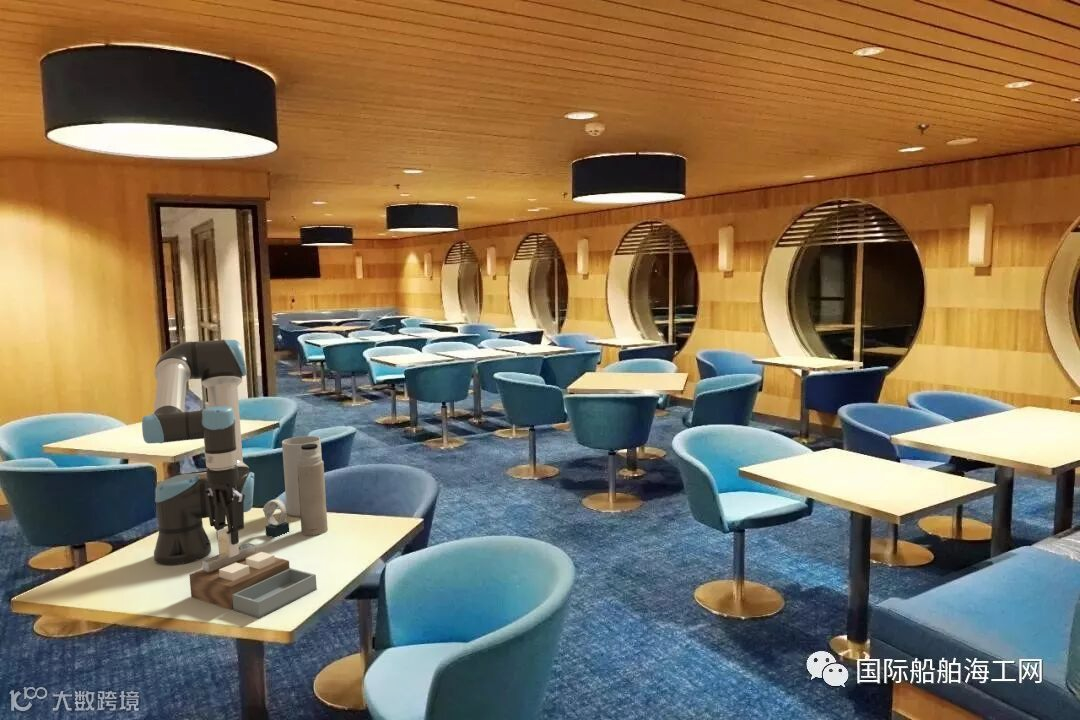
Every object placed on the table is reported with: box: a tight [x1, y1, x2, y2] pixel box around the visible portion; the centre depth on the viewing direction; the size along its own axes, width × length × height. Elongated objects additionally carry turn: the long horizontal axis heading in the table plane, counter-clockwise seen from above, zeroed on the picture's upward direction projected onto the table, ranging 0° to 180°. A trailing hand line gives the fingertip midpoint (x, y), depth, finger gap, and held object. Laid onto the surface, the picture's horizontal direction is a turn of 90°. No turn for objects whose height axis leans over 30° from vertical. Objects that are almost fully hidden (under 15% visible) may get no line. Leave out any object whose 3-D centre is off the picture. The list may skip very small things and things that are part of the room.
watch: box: [262, 498, 290, 538], centre depth 233 cm, size 6×8×11 cm
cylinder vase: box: [281, 435, 323, 517], centre depth 254 cm, size 12×12×25 cm
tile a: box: [219, 563, 250, 581], centre depth 187 cm, size 5×5×2 cm
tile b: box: [246, 551, 276, 569], centre depth 194 cm, size 5×5×2 cm
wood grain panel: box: [189, 551, 291, 611], centre depth 193 cm, size 16×18×6 cm
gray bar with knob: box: [201, 534, 256, 572], centre depth 194 cm, size 3×14×7 cm, turn 150°
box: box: [232, 567, 318, 620], centre depth 186 cm, size 9×18×4 cm, turn 150°
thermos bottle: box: [297, 444, 329, 536], centre depth 234 cm, size 8×8×28 cm
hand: (229, 554), depth 194 cm, fingers closed on gray bar with knob, 3 cm apart
